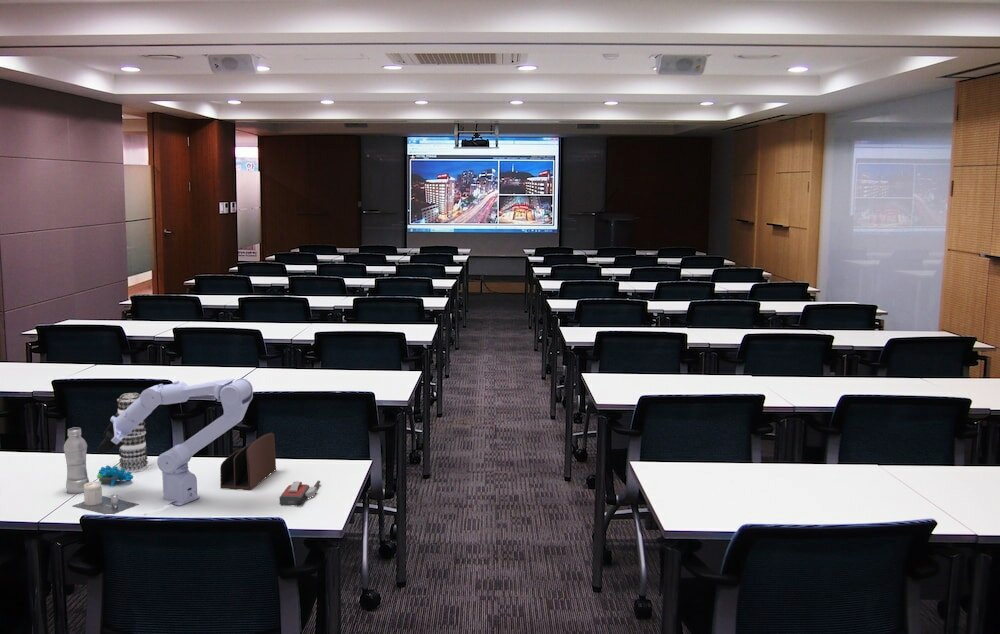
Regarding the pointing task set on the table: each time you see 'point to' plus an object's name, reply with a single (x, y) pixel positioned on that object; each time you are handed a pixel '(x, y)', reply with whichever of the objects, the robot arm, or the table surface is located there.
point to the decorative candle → (132, 440)
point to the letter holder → (249, 464)
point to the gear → (113, 475)
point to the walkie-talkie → (297, 493)
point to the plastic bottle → (75, 461)
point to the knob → (93, 493)
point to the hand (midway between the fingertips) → (102, 444)
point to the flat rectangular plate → (107, 505)
